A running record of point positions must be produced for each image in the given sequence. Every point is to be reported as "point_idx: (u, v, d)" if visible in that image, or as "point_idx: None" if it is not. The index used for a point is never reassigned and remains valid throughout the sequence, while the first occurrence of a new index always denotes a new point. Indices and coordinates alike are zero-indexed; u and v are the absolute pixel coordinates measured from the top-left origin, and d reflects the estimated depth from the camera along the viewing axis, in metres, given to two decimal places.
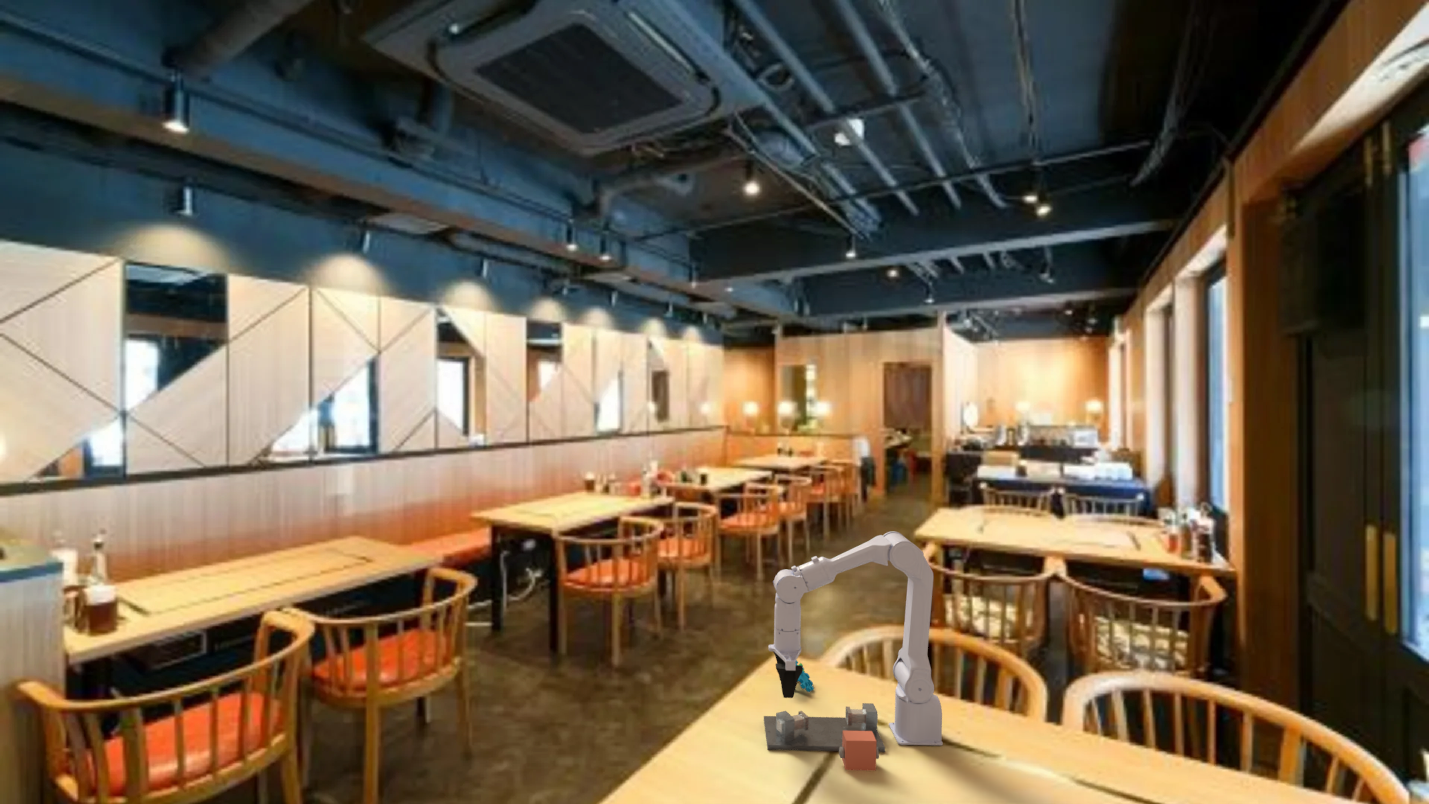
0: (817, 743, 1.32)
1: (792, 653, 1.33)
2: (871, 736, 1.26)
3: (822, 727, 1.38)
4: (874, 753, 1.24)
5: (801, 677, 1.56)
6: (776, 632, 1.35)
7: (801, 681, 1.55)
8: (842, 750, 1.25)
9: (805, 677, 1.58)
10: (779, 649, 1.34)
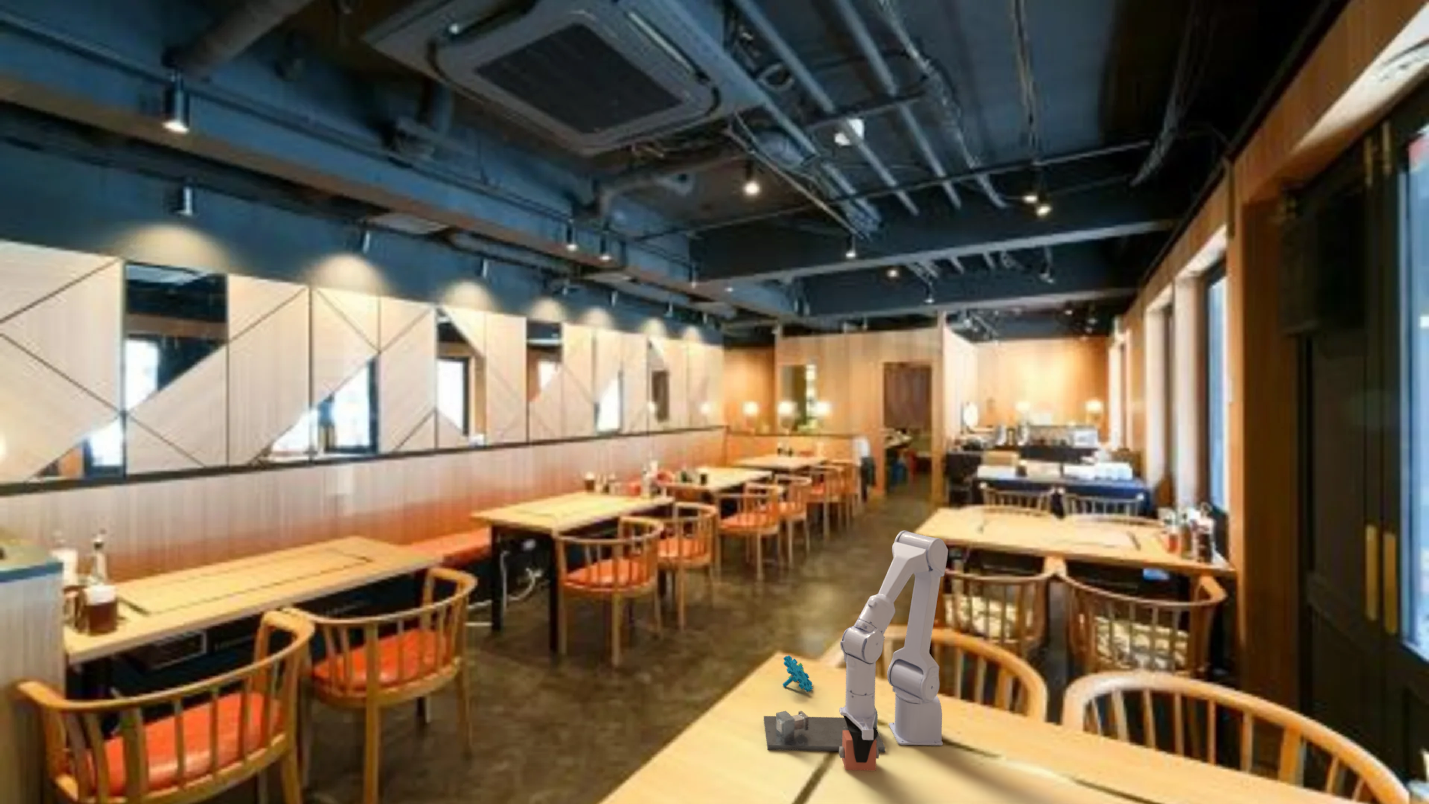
0: (817, 743, 1.32)
1: (867, 719, 1.23)
2: None
3: (822, 727, 1.38)
4: (874, 753, 1.24)
5: (800, 677, 1.56)
6: (849, 695, 1.24)
7: (800, 681, 1.55)
8: (842, 750, 1.25)
9: (804, 677, 1.58)
10: (852, 714, 1.24)
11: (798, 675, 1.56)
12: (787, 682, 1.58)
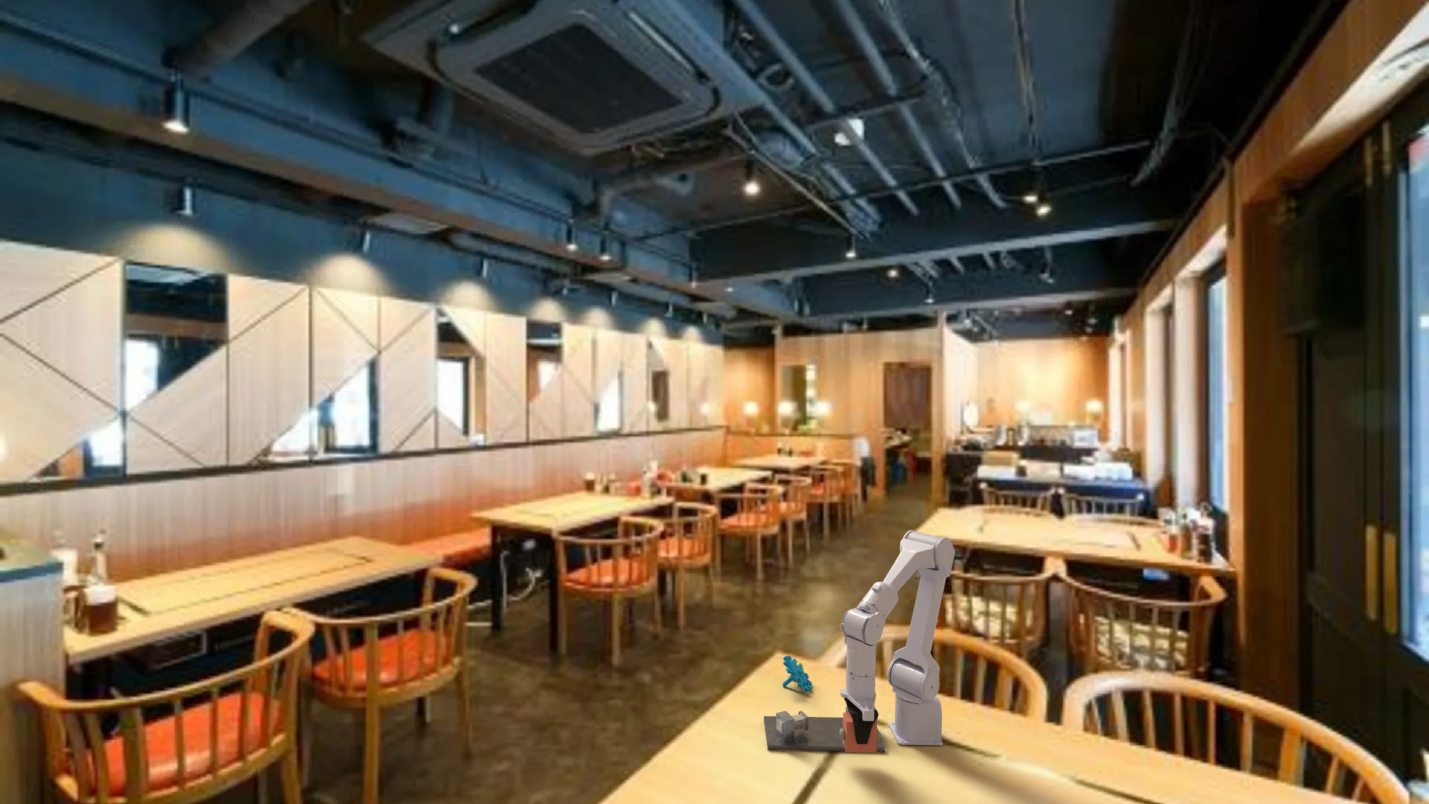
0: (817, 743, 1.32)
1: (867, 700, 1.23)
2: None
3: (822, 727, 1.38)
4: (875, 734, 1.24)
5: (799, 677, 1.56)
6: (849, 677, 1.24)
7: (799, 681, 1.55)
8: (843, 732, 1.25)
9: (804, 677, 1.58)
10: (853, 696, 1.24)
11: (797, 675, 1.56)
12: (787, 682, 1.58)
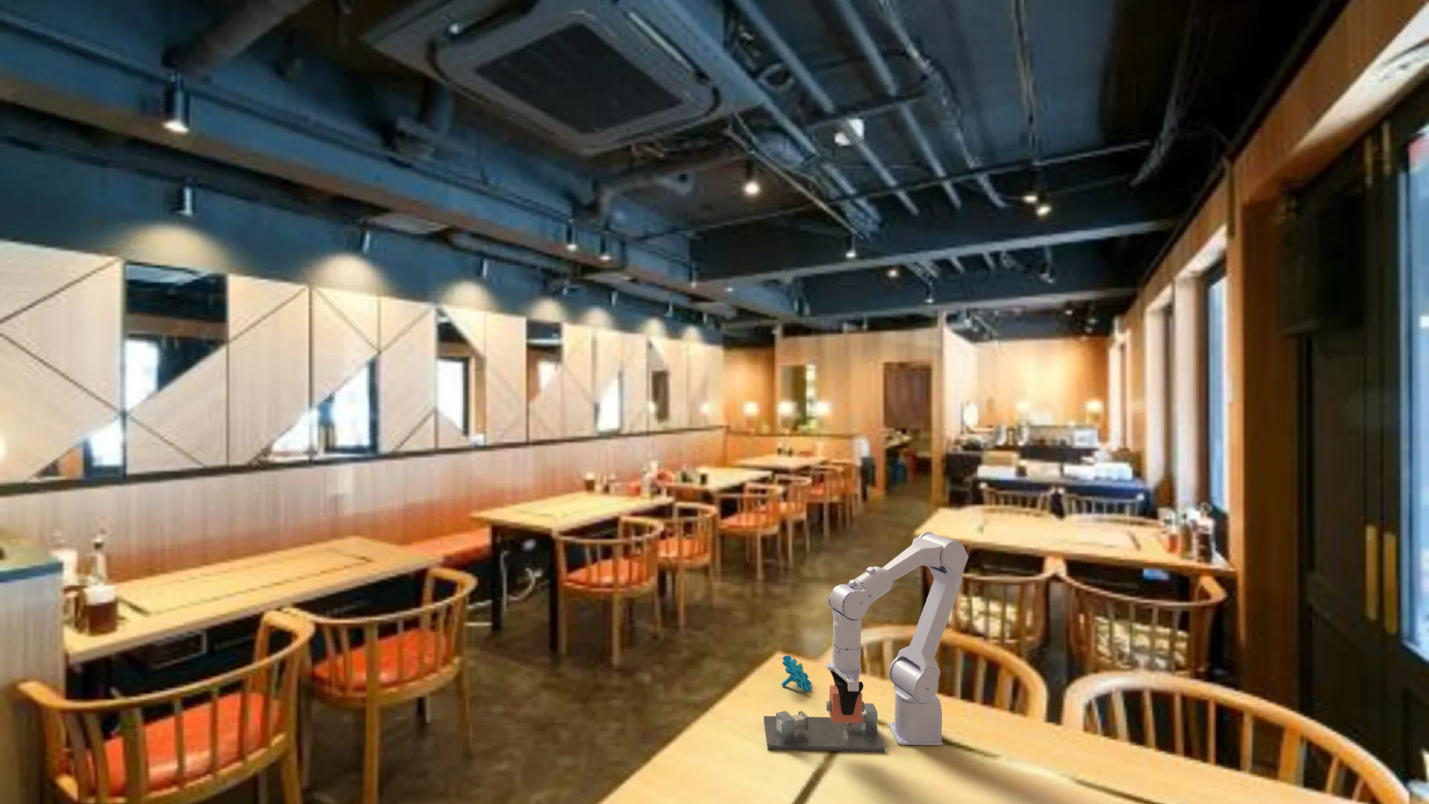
0: (817, 743, 1.32)
1: (853, 672, 1.27)
2: None
3: (822, 727, 1.38)
4: (860, 706, 1.29)
5: (798, 676, 1.56)
6: (835, 650, 1.29)
7: (798, 680, 1.55)
8: (829, 703, 1.30)
9: (803, 677, 1.58)
10: (839, 668, 1.28)
11: (797, 675, 1.56)
12: (786, 682, 1.58)
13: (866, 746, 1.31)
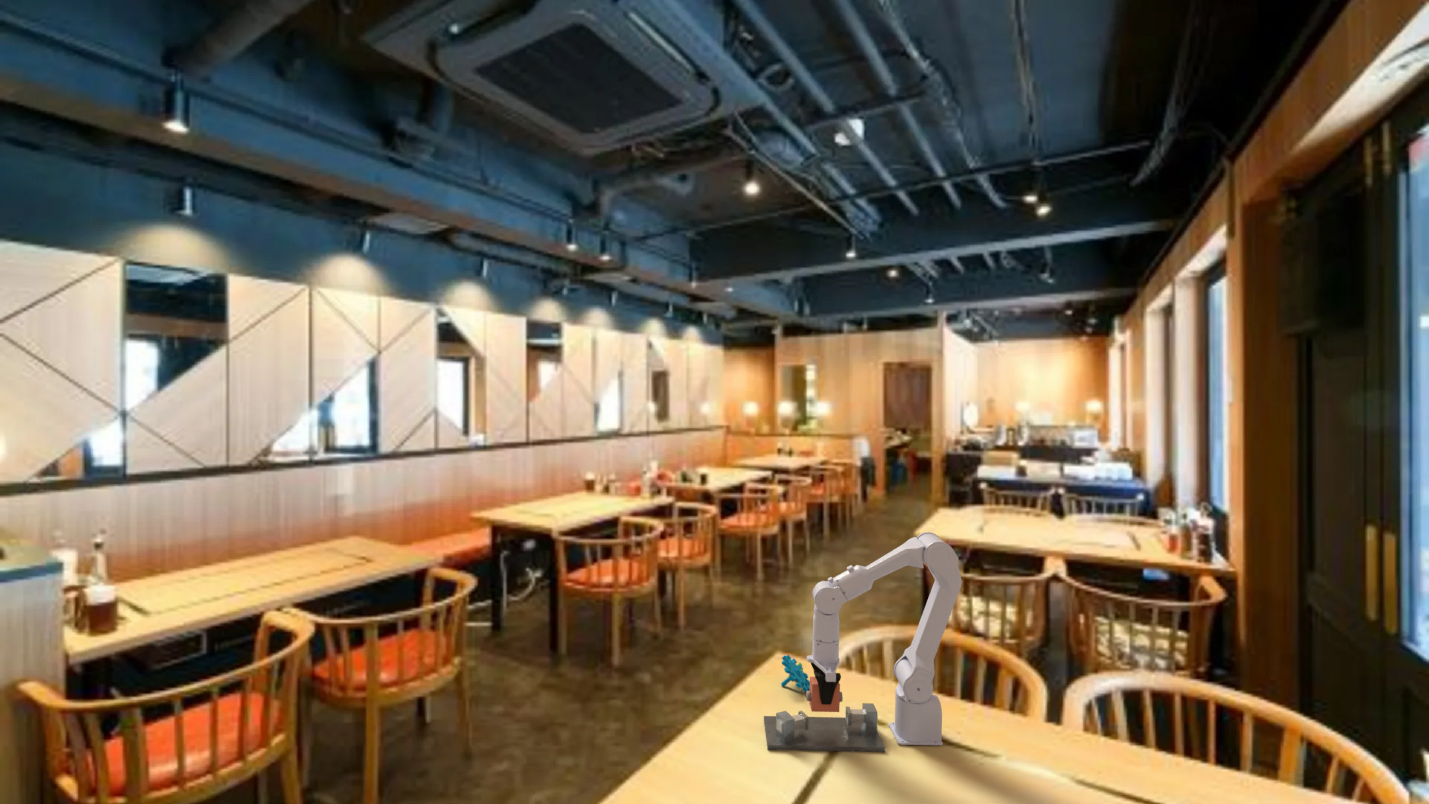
0: (817, 743, 1.32)
1: (831, 664, 1.35)
2: None
3: (822, 727, 1.38)
4: (838, 696, 1.36)
5: (798, 676, 1.56)
6: (815, 643, 1.36)
7: (797, 680, 1.55)
8: (809, 693, 1.37)
9: (802, 677, 1.58)
10: (818, 660, 1.36)
11: (796, 675, 1.56)
12: (785, 681, 1.58)
13: (866, 746, 1.31)
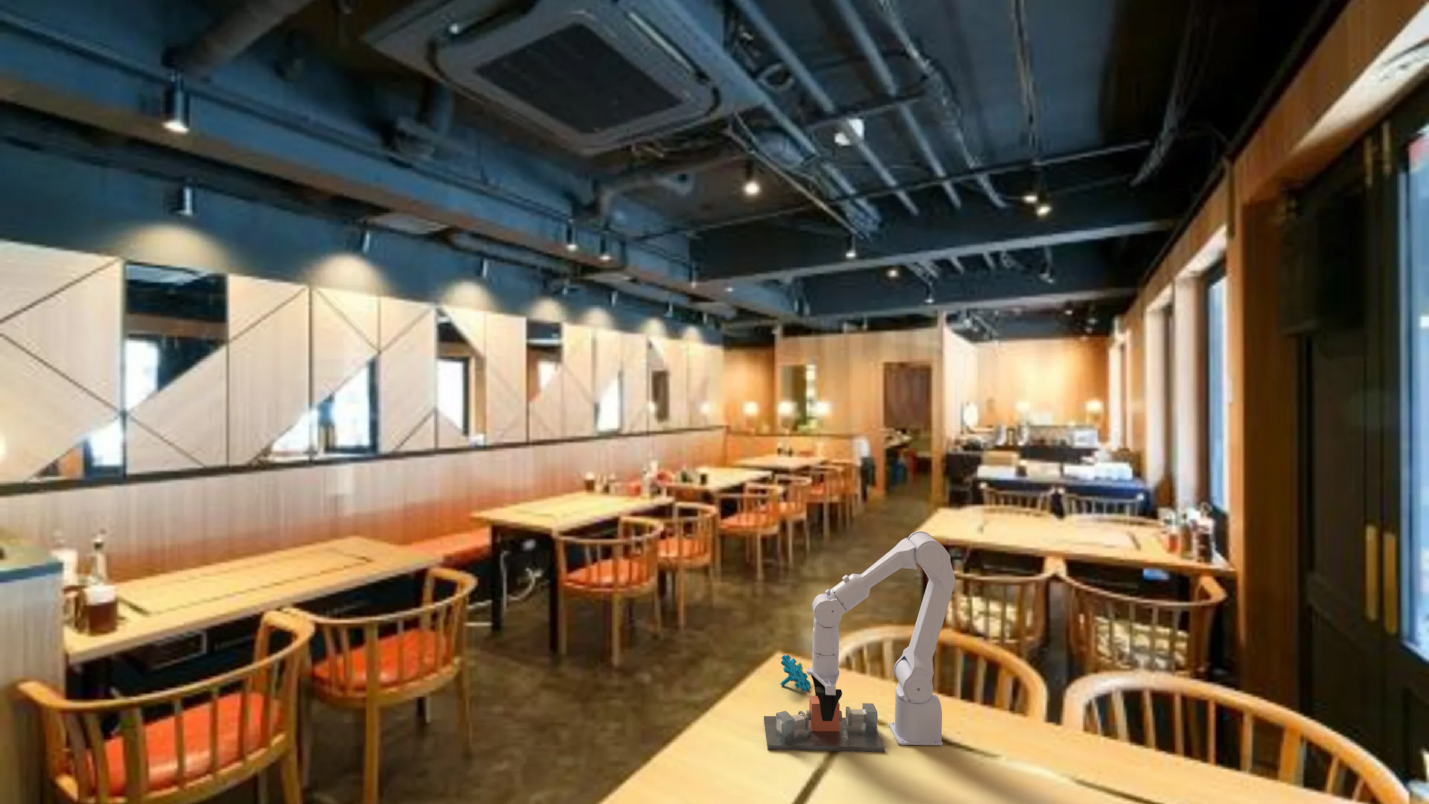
0: (817, 743, 1.32)
1: (831, 677, 1.35)
2: None
3: None
4: (837, 715, 1.36)
5: (797, 676, 1.56)
6: (815, 656, 1.36)
7: (796, 680, 1.55)
8: (808, 713, 1.37)
9: (802, 677, 1.58)
10: (818, 673, 1.36)
11: (795, 674, 1.56)
12: (785, 681, 1.58)
13: (866, 746, 1.31)
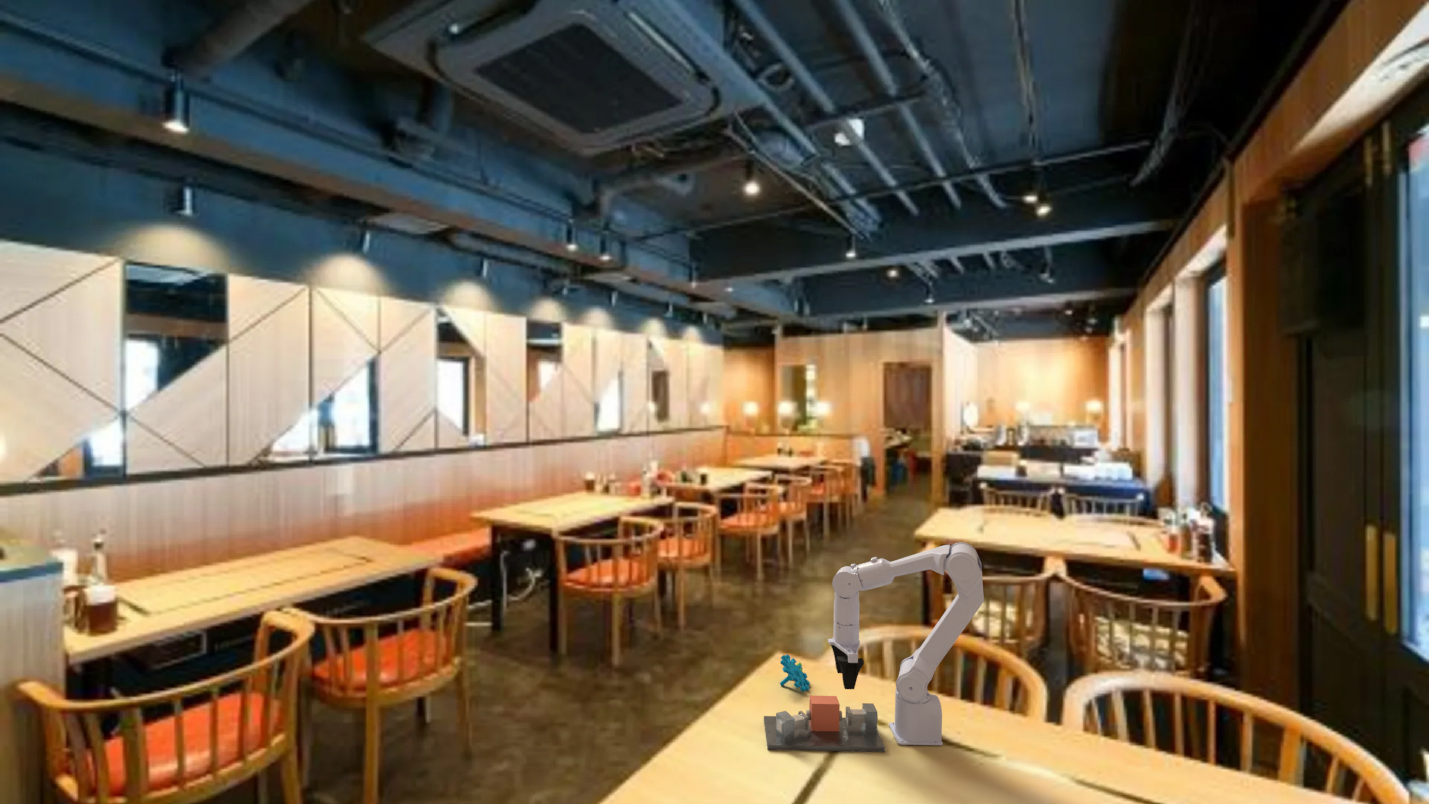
0: (817, 743, 1.32)
1: (852, 646, 1.39)
2: (835, 700, 1.38)
3: None
4: (837, 715, 1.36)
5: (796, 676, 1.56)
6: (836, 626, 1.41)
7: (796, 680, 1.55)
8: (808, 713, 1.37)
9: (801, 676, 1.58)
10: (839, 643, 1.40)
11: (794, 674, 1.56)
12: (784, 681, 1.58)
13: (866, 746, 1.31)
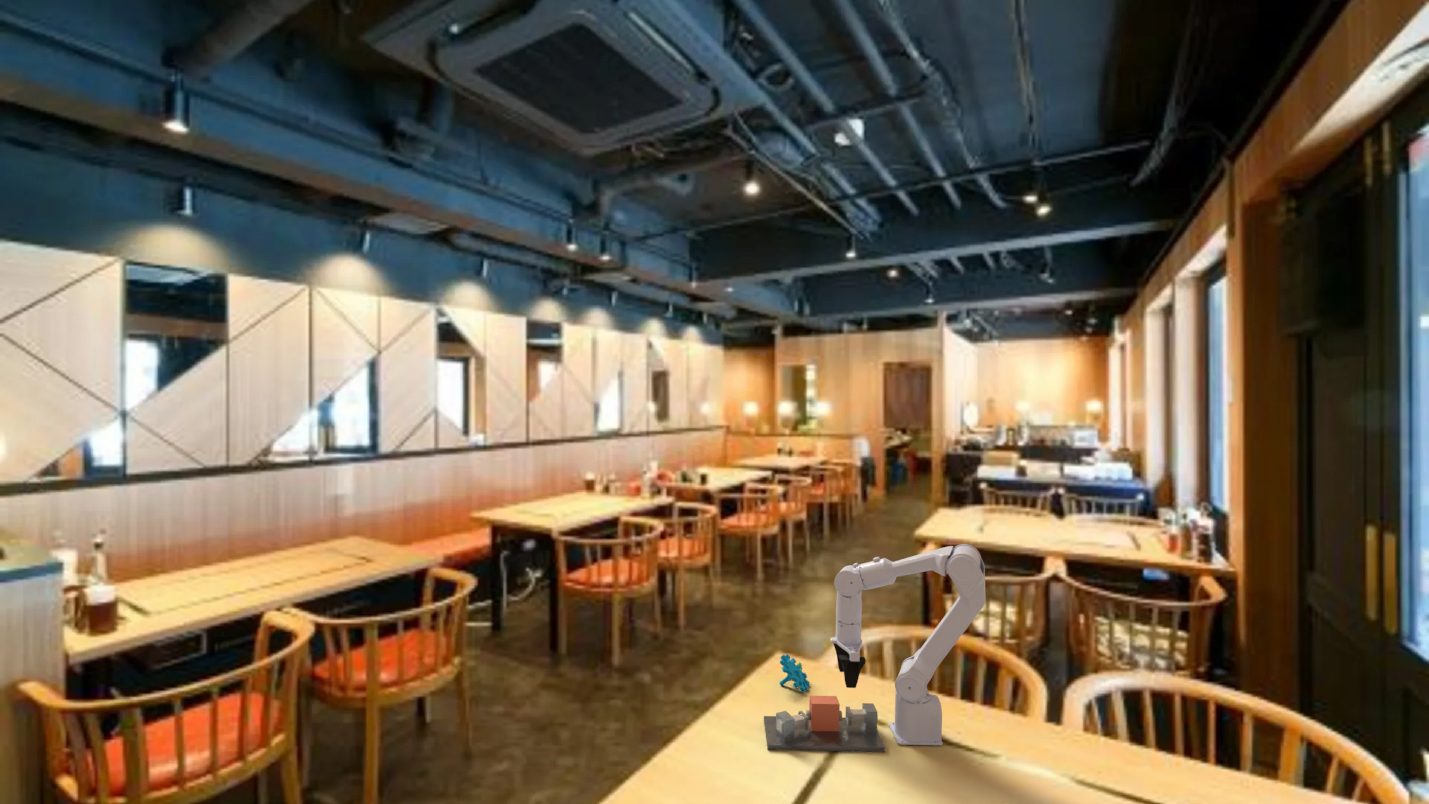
0: (817, 743, 1.32)
1: (854, 645, 1.40)
2: (835, 700, 1.38)
3: None
4: (837, 715, 1.36)
5: (796, 676, 1.56)
6: (838, 625, 1.41)
7: (795, 680, 1.55)
8: (808, 713, 1.37)
9: (801, 676, 1.58)
10: (841, 641, 1.40)
11: (794, 674, 1.56)
12: (784, 681, 1.58)
13: (866, 746, 1.31)
